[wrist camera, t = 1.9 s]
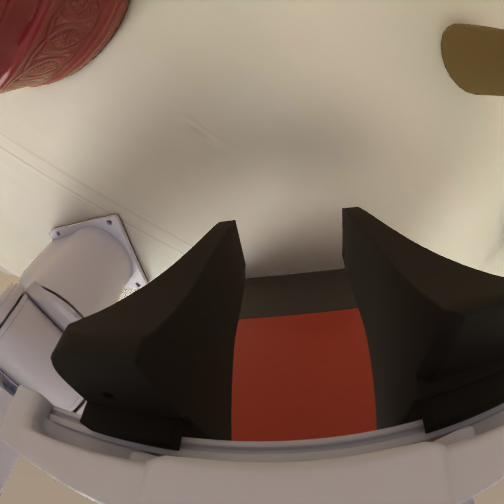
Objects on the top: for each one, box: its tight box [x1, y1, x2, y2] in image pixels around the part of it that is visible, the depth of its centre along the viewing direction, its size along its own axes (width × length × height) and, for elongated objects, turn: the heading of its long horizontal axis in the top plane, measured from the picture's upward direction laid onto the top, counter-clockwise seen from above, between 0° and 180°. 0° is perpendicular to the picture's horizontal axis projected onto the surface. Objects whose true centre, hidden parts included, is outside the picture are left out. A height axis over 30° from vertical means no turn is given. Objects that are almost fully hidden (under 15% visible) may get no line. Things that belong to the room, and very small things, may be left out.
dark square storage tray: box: [239, 269, 358, 319], centre depth 26 cm, size 12×13×5 cm
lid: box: [231, 308, 377, 441], centre depth 15 cm, size 12×13×1 cm
